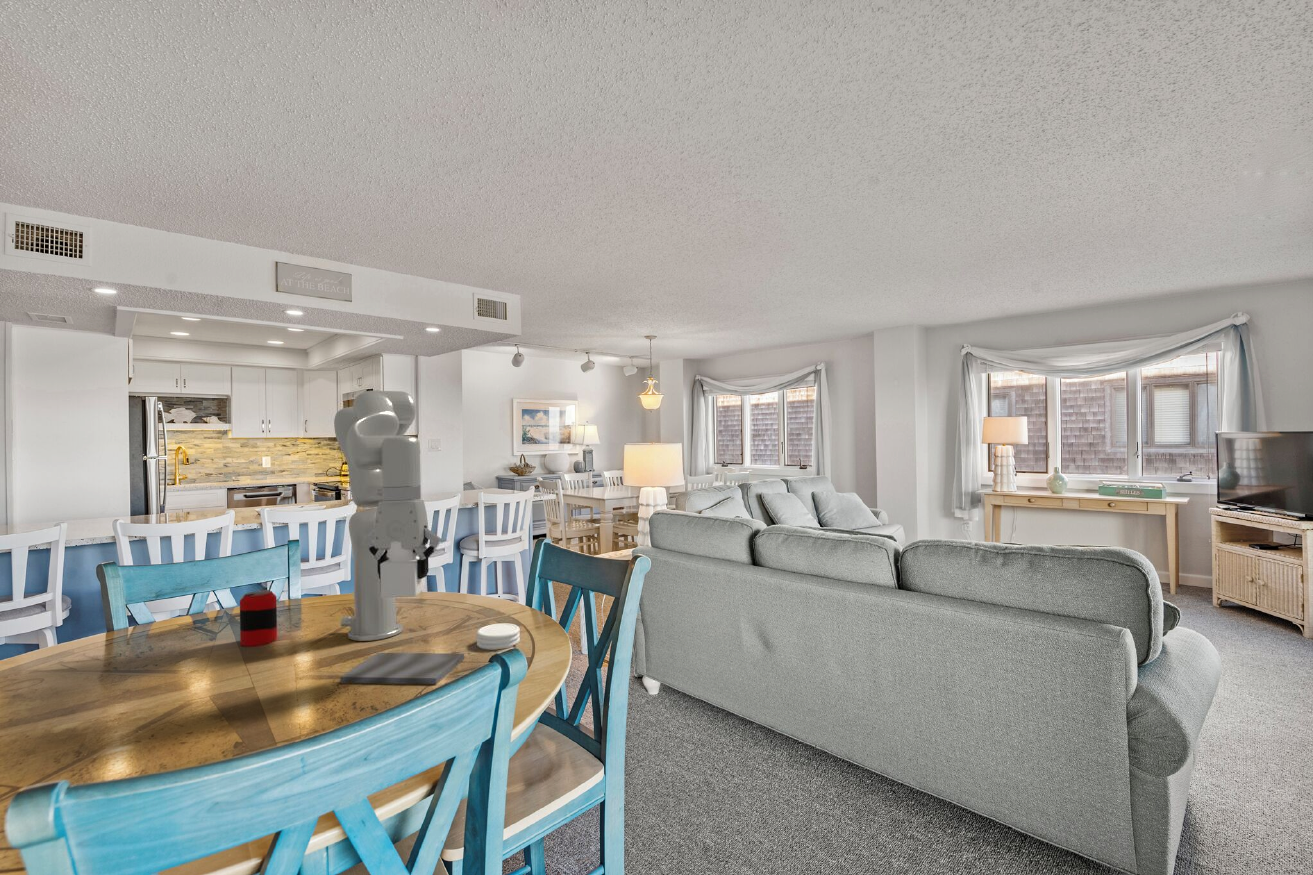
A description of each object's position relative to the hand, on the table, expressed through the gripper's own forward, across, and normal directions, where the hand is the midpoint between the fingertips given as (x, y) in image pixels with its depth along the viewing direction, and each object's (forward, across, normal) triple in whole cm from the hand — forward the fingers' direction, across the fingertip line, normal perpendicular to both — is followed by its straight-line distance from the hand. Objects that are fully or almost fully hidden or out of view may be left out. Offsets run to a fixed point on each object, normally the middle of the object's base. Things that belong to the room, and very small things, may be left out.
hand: (403, 577), depth 131 cm
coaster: (+20, +14, +18) cm, 30 cm away
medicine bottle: (+4, 0, 0) cm, 4 cm away
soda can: (+20, -46, +17) cm, 53 cm away
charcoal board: (+20, 0, 0) cm, 20 cm away
